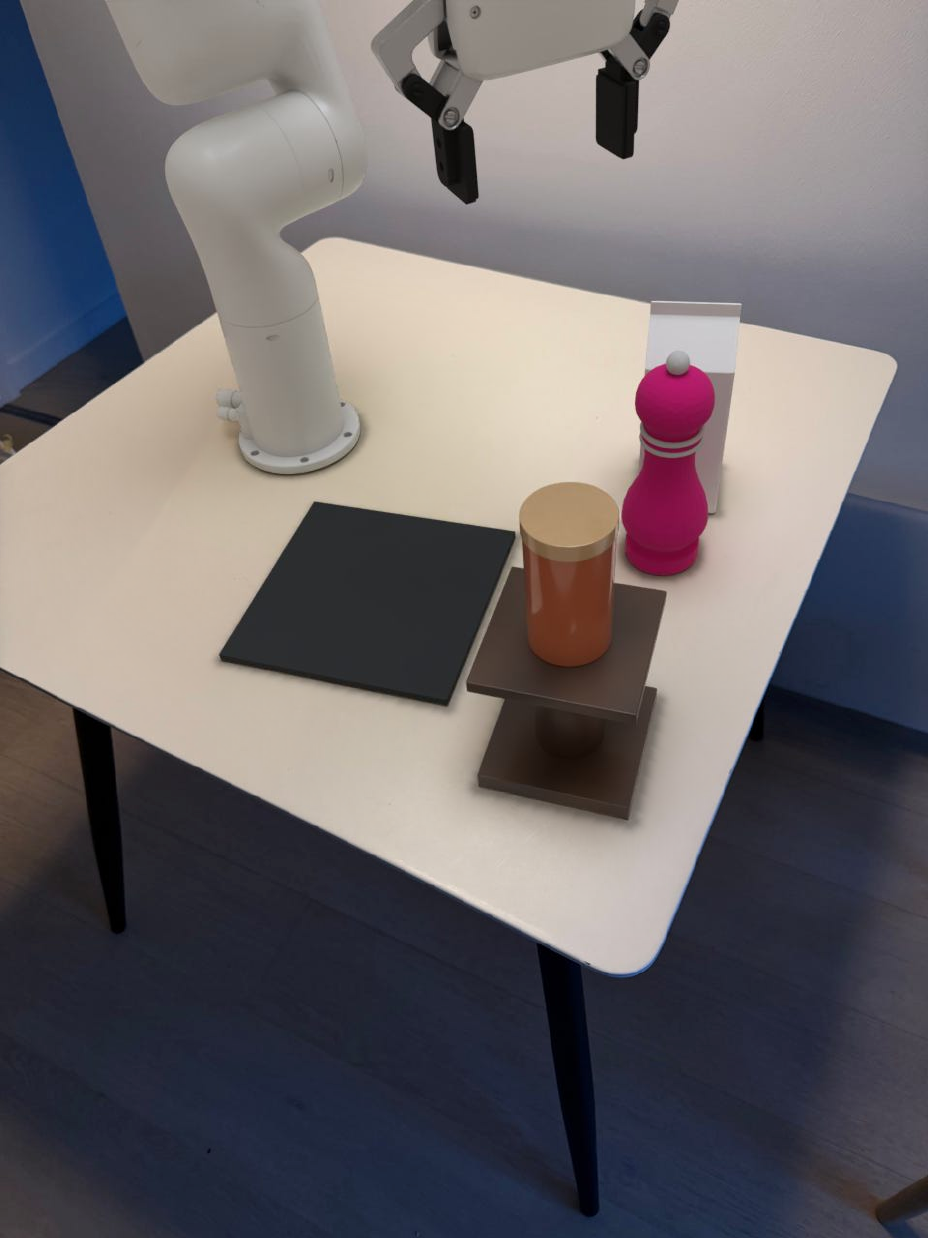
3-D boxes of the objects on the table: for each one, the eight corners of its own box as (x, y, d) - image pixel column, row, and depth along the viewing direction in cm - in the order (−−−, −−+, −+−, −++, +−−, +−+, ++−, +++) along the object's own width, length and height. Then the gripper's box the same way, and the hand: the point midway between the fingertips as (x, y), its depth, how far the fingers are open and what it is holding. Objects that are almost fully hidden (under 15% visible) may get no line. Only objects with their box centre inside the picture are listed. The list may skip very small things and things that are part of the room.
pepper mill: (682, 590, 84) (706, 390, 69) (605, 563, 87) (612, 365, 72) (715, 539, 88) (744, 339, 73) (640, 515, 91) (654, 318, 76)
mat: (220, 660, 83) (218, 654, 82) (315, 507, 95) (314, 500, 95) (447, 706, 77) (446, 700, 77) (515, 537, 90) (515, 531, 89)
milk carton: (715, 515, 90) (741, 327, 76) (636, 509, 91) (647, 324, 77) (717, 466, 95) (742, 281, 81) (642, 461, 96) (654, 279, 82)
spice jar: (515, 659, 64) (507, 538, 57) (537, 597, 68) (533, 475, 60) (603, 675, 63) (607, 554, 55) (621, 611, 66) (627, 488, 59)
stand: (478, 787, 72) (465, 682, 63) (518, 674, 79) (511, 565, 70) (628, 820, 69) (636, 715, 60) (656, 700, 76) (667, 590, 67)
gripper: (649, -257, 48) (637, 116, 60) (313, -197, 44) (373, 189, 56) (741, -249, 43) (708, 155, 55) (372, -180, 39) (424, 239, 51)
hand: (539, 172), depth 56 cm, fingers open, 9 cm apart
